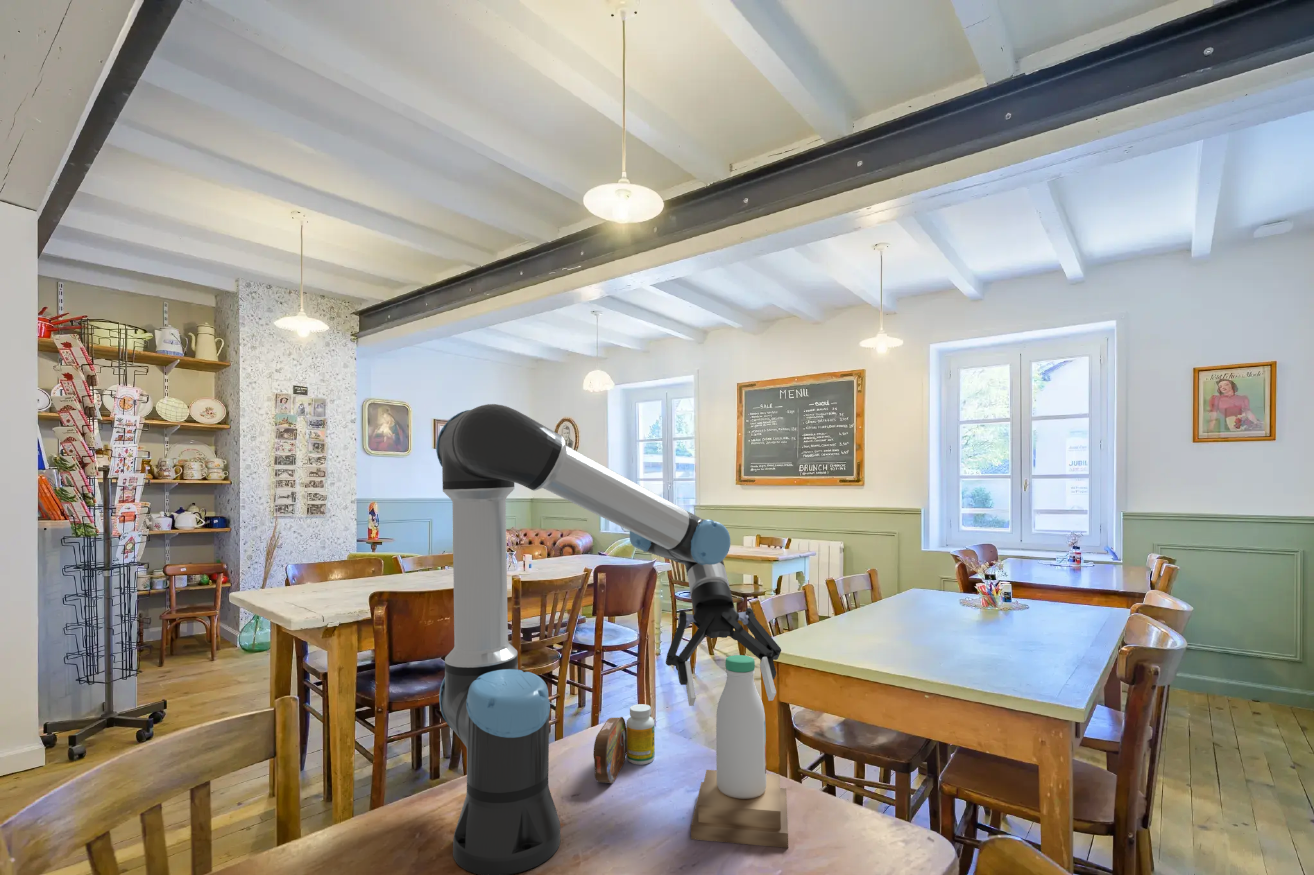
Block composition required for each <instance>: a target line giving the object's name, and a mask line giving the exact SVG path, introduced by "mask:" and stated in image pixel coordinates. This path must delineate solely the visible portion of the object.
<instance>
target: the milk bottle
mask: <svg viewBox="0 0 1314 875" xmlns="http://www.w3.org/2000/svg"><path fill="white" fill-rule="evenodd" d="M724 663H725V673H726V681H725V684H724V687H723V690H722V692H721V695H720V697H719V699H718V703H717V708H716V724H715V727H716V728H715V730H716V731H715V732H716V738H715V740H716V741H715V743H716V744H715V745H716V746H715V748H716V749H715V753H716V756H715V757H716V764H715V765H716V770H717V786H718V789H719V790H720V791H721V792H722V793H723V794H725V795H727V796H730V797H733V798H739V799H750V798H755V797H758V796H760V795H762V794H763V793H764V792H765V789H766V774H767V742H766V741H767V740H766V739H767V738H766V737H767V734H766V714H765V707H764V704H763V701H762V698H761V696H760V694H759V692H758V690H757V687H756V684H755V680H754V674H756V673H755V672H756V671H755V667H756V662H755V658H754V657H752V656H749V655H742V654H734V655H729V656H727V657H726V658H725V662H724Z"/></svg>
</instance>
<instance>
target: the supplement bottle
mask: <svg viewBox="0 0 1314 875" xmlns="http://www.w3.org/2000/svg"><path fill="white" fill-rule="evenodd" d="M629 715H630V717H629V718H628V719H627V720H626V722H625V724H626V757H625V758H626V760H627V762H629V763H631V764H633V765H639V766H640V765H641V766H642V765H647V764H650V763H652V762H653V761H654V760H655V736H656V735H655V733H656V732H655V730H656V729H655V728H656V726H655V720H654V718H653V717H652V716H651V715H652V708H651V706H650V705H649V704H644V703H643V704H642V703H641V704H640V703H638V704H632V705H631V706H630V707H629Z"/></svg>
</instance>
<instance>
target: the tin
mask: <svg viewBox="0 0 1314 875" xmlns="http://www.w3.org/2000/svg"><path fill="white" fill-rule="evenodd" d="M626 758H627V757H626V721H625V718H624V717H623V716H620V717H609V718H608V719H607V720H606V721H605V722H604V724H603V726H602V727H601V729H600V730H599V732H598V733H597V735H596V736H595V741H594V745H593V761H594V764H593V765H594V778H595V780H596V781H597V782H598V783H602V784H603V783H604V784H605V783H606V784H614V783H615V781H616V779H617V777H618V775H619V774H620V771H621V769H622V768H623V766H624V764H625V761H626Z"/></svg>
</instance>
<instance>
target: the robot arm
mask: <svg viewBox="0 0 1314 875" xmlns="http://www.w3.org/2000/svg"><path fill="white" fill-rule="evenodd" d="M435 446H436V447H435V451H436V456H437V459H438V461H439V462H438V463H439V464H440V466H441V467H442V469H441V470H442V472H441V474H442V475H441V476H442V478H441V479H442V492H443V493H444V494H445V495H446V496H447V497H448V498H449V499H450V500H451V502H452V551H453V552H452V554H453V555H452V556H453V558H452V559H453V561H452V562H453V563H452V566H453V570H452V571H453V616H454V617H453V625H454V626H453V631H454V632H453V634H454V638H453V640H454V646H453V649H452V650H450V652H449V653H448V654H447V655H446V656H445V658H444V678H443V679H442V681H441V684H440V688H439V695H438V698H439V707H440V712H441V715H442V718H443V719H444V721H445V723H446V724H447V725H448V726H449V728H450V729H451V730H452V731H453V732H454V733H455V735H457V737H458V739H460V740H461V742H462V743H463V745H464V747H466V794H465V799H464V802H463V805H462V809H461V811H460V815H459V817H458V821H457V824H456V827H455V830H454V834H453V838H452V841H453V842H452V843H453V844H452V847H453V848H452V855H453V856H452V857H453V860H454V861H455V863H456V864H457V865H458V866H459V867H460V868H462V869H463V870H464V871H465V870H466V871H467V872H469V873H473V874H476V875H513V874H518V873H522V872H525V871H528V870H531V869H533V868H534V869H535V867H538V866H540V865H542V864H543V863H545V862H546V861H547V860H549V859H551V857H552V856H553V855H555V853H556V852H557V851H558V849H559V847H560V844H561V822H560V818H559V814H558V812H557V808H556V806H555V802H554V800H553V796H552V793H551V790H550V786H549V764H550V762H549V759H550V758H549V755H550V754H549V753H550V750H549V748H550V747H549V745H550V744H549V743H550V711H551V703H550V698H549V689H548V685H547V684H546V682H545V681H544V679H543V678H542V677H540V676H539V675H537V674H535V673H533V672H531V671H525V672H524V671H523V670H522V669H519V665H518V664H519V663H518V662H519V661H518V656H519V655H518V650H517V649H516V648H515V647H514V646H513V645H512V644H510V642H509V628H508V626H509V623H508V622H509V621H508V573H507V572H508V568H507V565H508V564H507V561H508V560H507V515H506V514H507V513H506V512H507V511H506V509H507V508H506V507H507V506H506V505H507V504H506V500H507V498H508V496H509V495H510V494H511V493H512V492H513V491H514V490H515V483H516V484H519V485H521V486H522V487H523V486H524V487H525V488H527V489H529V490H531V491H534V492H535V491H537V490H540V489H544V490H546V491H548V492H550V493H552V494H555V495H556V496H558V497H560V498H562V499H564V500H567V501H568V502H571V503H572V504H574V505H577V506H579V507H580V508H583V510H587V511H588V512H591V513H593V514H595V515H596V516H599V517H601V518H603V519H605V520H607V521H609V522H611V523H613V524H614V525H617V526H619V527H621V528H624V529H625V530H627V531H629V541H630V543H631V545H632V546H633V547H634V548H636V549H639V550H641V551H643V553H649V554H652V555H656V556H657V557H660V558H661V557H662V558H664V559H667V560H670V561H673V562H675V563H679V564H681V565H683V566H685V571H686V576H687V580H688V587H689V592H690V597H691V604H692V609H693V614H689V613H688V614H687V612H686V611H684V610H682V611H679V614H678V620H677V628H676V631H675V633H674V636H673V638H672V641H671V643H670V646H669V648H668V651H667V653H666V659H665V665H666V666H669V667H670V666H674V667H675V669H676V671H677V675H678V681H679V685H681V686H685V689H686V696H687V701H688V706H689V707H694V706H695V701H696V699H697V698H696V691H695V685H694V679H693V673H692V667H691V662H690V660H689V659H690V658H691V656H692V655H693V653H694V652H695V650H697V647H699V645H700V644H701V642H703V640H704V639H705V637H708V638H709V639H716V638H721V639H725V638H726V639H727V638H728V637H730V638H731V639H733V640H734V641H737V642H738V643H739V644H741V645H742V646H743V647H744V648H745V649H746V650H748V651H749V652H750V653H752V654H753V655H754V656H755V657H756V658H758V659H759V661H760V664H759V668H760V672H761V676H762V680H763V684H764V688H765V692H766V696H767V700H768V702H770V701H772V702H773V701H774V699H775V696H776V694H777V690H776V687H775V683H774V680H775V678H776V676H777V669H776V666H775V662H774V661H776V660H778V659H779V657H780V655H781V652H782V648H781V647H780V645H779V644H778V643H777V642H776V641H775V640H774V639H773V637H772V636H771V635H770V634H769V633H768V632H767V630H766V629H765V628H764V626H763V625H762V624H761V623H760V622H759V621H758V619H757V618H756V616H755V613H754V611H753V609H752V608H751V607H750V608H749V607H748V608H747V609H746V610H745V611H741V612H738V611H737V610H736V608H735V606H734V605H735V604H734V599H733V595H732V592H731V588H730V582H729V579H728V578H729V577H728V574H727V571H726V567H725V563H724V559H725V558H726V557H727V555H728V554H729V551H730V548H731V536H730V532H729V530H728V528H726V526H725V524H722V523H721V522H719V521H715V520H713V519H704V518H701V517H699V516H697V515H696V514H694V513H692V512H691V511H688V510H686V509H684V508H683V507H680V506H679V505H676V504H675V503H673V502H671V501H669V500H667V499H666V498H664V497H662V496H661V495H658V494H657V493H654V492H653V491H652V490H649V489H647V488H645V487H644V486H642V485H641V484H638V483H637V482H635V481H633V480H631V479H629V478H627V477H626V476H623V475H621V474H620V473H618V472H616V471H614V470H612V469H610V468H608V467H607V466H605V465H603V464H601V463H599V462H597V461H595V460H593V459H592V458H590V457H588V456H586V455H585V454H583V453H581V452H579V451H577V450H576V449H573V448H571V447H570V446H568V445H566V442H565V439H564V436H563V435H562V434H559V433H557V432H556V431H554V430H552V429H551V428H548V427H546V425H543V424H541V423H539V421H536V420H535V419H533V418H531V417H529V416H528V415H526V414H524V413H521V411H519V410H516V409H514V408H511V407H509V406H507V405H502V404H498V403H497V404H495V403H487V404H483V405H479V406H476V407H474V408H473V409H472V408H471V409H465V410H463V411H461V412H459V413H457V414H456V415H453V416H452V417H450V418H449V419H448V420H447V421H446V423H445V424H444V425H443V427H442V428H441V429H440V431H439V433H438V435H437V439H436V444H435ZM739 621H741V622H742V623H743V624H740V623H739ZM691 623H693V624H694V626H695V627H696V628H697V630H696V631H695V633H694V634H693V635H692V637H691V638H690V640H689V641H688V642H687V644H686V646H685V647H684V648H683V650H682V651H681V652H680V653H679V655H677V653H678V650H679V647H680V644H681V642H682V639H683V636H684V634H685V631H686V628H688V627H690V625H691ZM743 625H744V626H746V627H747V629H748V630H749V632H750V633H749V632H747V631H746V630H745V628H743ZM751 634H752V635H751Z"/></svg>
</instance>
